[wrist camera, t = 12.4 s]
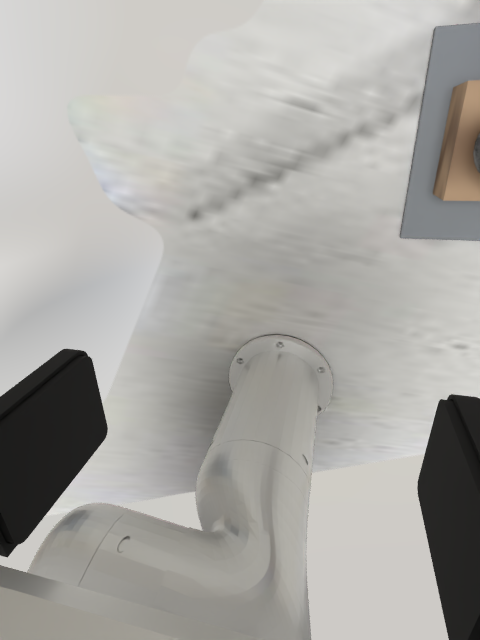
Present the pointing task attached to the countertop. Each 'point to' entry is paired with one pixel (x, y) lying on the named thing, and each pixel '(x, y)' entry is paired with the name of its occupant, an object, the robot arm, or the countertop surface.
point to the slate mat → (441, 139)
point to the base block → (460, 146)
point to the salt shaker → (477, 153)
